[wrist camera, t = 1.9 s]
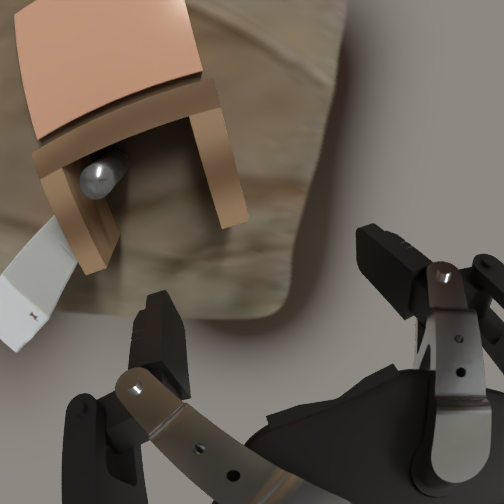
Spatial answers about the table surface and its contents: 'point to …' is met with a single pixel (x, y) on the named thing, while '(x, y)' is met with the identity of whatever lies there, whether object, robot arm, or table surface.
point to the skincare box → (34, 284)
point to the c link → (116, 129)
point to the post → (103, 174)
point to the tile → (98, 54)
